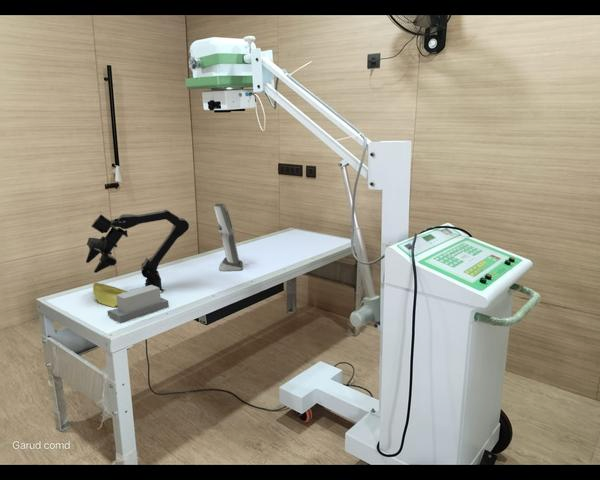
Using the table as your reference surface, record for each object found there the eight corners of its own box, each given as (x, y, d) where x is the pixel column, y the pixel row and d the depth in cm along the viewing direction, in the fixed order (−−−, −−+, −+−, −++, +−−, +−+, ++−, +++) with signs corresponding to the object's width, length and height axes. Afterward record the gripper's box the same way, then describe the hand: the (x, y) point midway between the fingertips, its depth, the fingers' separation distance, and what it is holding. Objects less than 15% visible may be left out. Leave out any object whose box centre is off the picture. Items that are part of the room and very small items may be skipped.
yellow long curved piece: (137, 294, 215) (120, 291, 207) (133, 310, 214) (115, 308, 206) (108, 285, 225) (91, 281, 216) (103, 300, 224) (86, 297, 215)
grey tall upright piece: (219, 265, 264) (215, 202, 256) (243, 264, 265) (239, 202, 257) (218, 271, 253) (213, 206, 245) (242, 270, 254) (238, 205, 246)
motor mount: (154, 300, 213) (151, 280, 211) (168, 307, 205) (166, 286, 203) (106, 315, 198) (103, 294, 196) (120, 323, 190) (117, 301, 188)
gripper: (88, 223, 213) (67, 251, 213) (105, 241, 202) (83, 271, 201) (108, 232, 222) (88, 260, 221) (126, 251, 211) (104, 279, 210)
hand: (90, 267), depth 213 cm, fingers open, 9 cm apart
